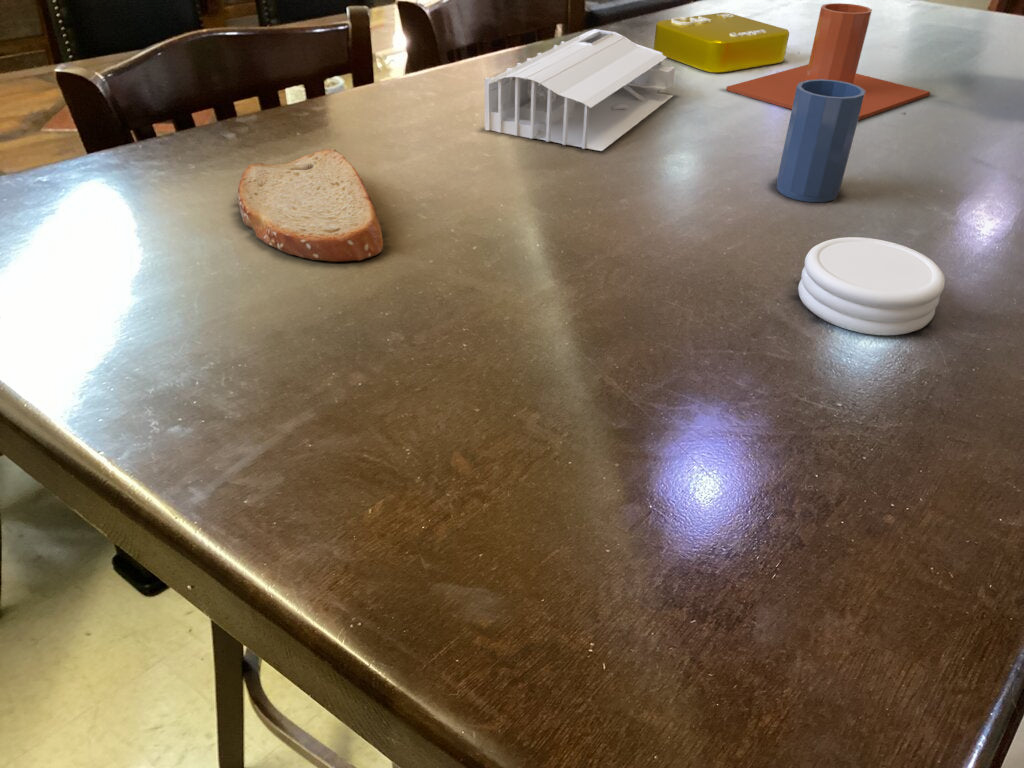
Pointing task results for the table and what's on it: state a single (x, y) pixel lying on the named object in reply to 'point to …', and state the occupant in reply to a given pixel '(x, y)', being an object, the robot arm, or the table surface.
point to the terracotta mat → (785, 83)
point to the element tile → (721, 42)
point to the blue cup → (819, 139)
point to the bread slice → (311, 208)
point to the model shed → (579, 91)
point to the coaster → (870, 285)
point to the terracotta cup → (838, 42)
